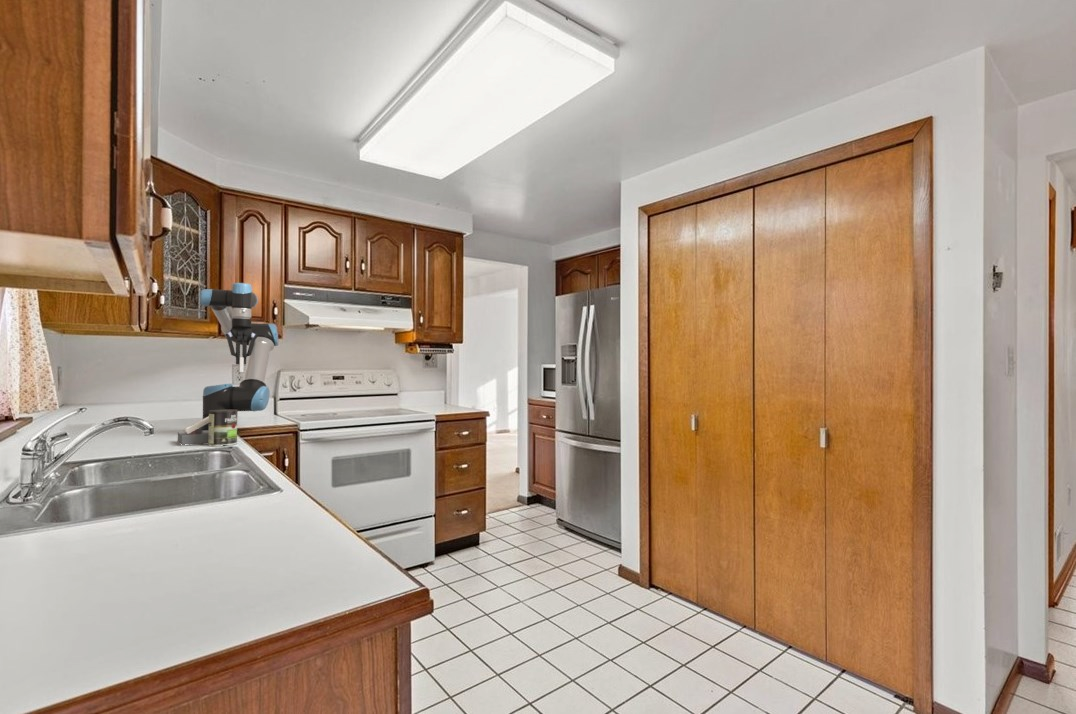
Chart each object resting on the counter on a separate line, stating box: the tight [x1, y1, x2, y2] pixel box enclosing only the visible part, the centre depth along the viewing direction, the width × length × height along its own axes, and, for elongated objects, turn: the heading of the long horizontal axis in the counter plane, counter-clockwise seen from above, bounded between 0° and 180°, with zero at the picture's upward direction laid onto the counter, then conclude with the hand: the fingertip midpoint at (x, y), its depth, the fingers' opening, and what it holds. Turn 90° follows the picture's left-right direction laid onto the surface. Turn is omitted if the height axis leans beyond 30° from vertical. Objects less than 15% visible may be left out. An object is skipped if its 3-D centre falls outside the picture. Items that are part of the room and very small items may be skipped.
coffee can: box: [207, 409, 239, 447], centre depth 214 cm, size 10×10×14 cm
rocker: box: [183, 416, 209, 434], centre depth 217 cm, size 4×10×2 cm, turn 131°
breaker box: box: [177, 428, 209, 446], centre depth 219 cm, size 13×12×6 cm
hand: (240, 371), depth 230 cm, fingers closed
